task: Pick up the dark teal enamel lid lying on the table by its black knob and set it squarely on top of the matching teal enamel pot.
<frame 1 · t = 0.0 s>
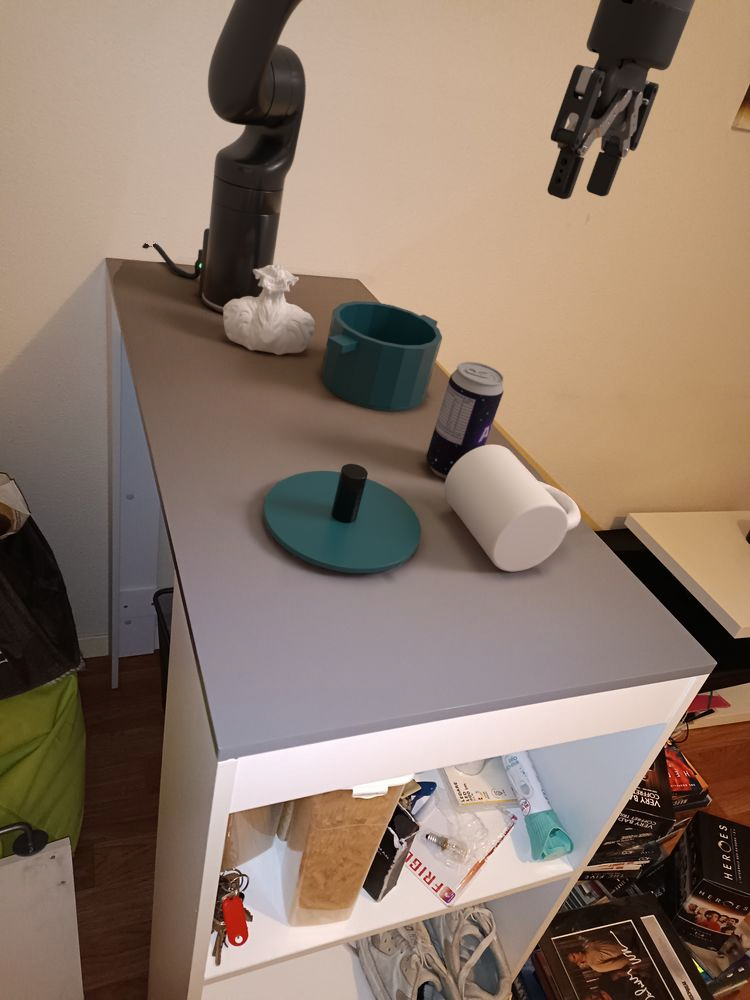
hand: (577, 195, 71), 29 cm above the table, tool pointing down, fingers open, 8 cm apart
mug: (507, 539, 73), on the table
lid: (342, 520, 69), point 1 cm above the table
white tied bag: (265, 345, 98), on the table
pot: (373, 385, 95), on the table
beverage can: (448, 471, 82), on the table
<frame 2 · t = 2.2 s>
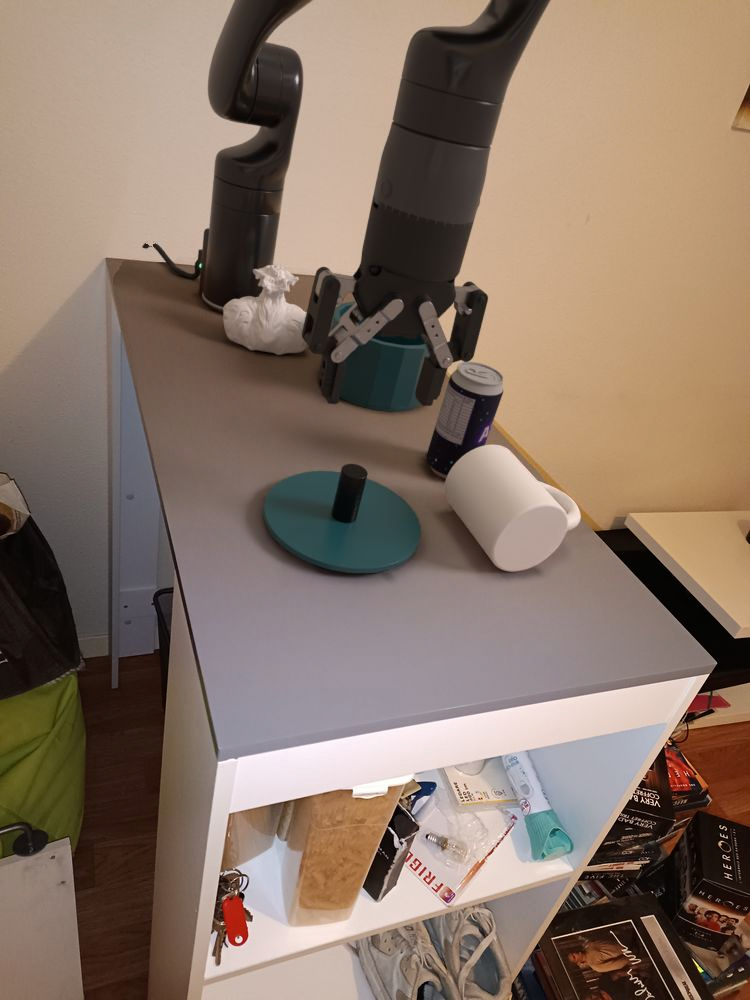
hand: (377, 400, 62), 13 cm above the table, tool pointing down, fingers open, 8 cm apart
nothing on the table moved.
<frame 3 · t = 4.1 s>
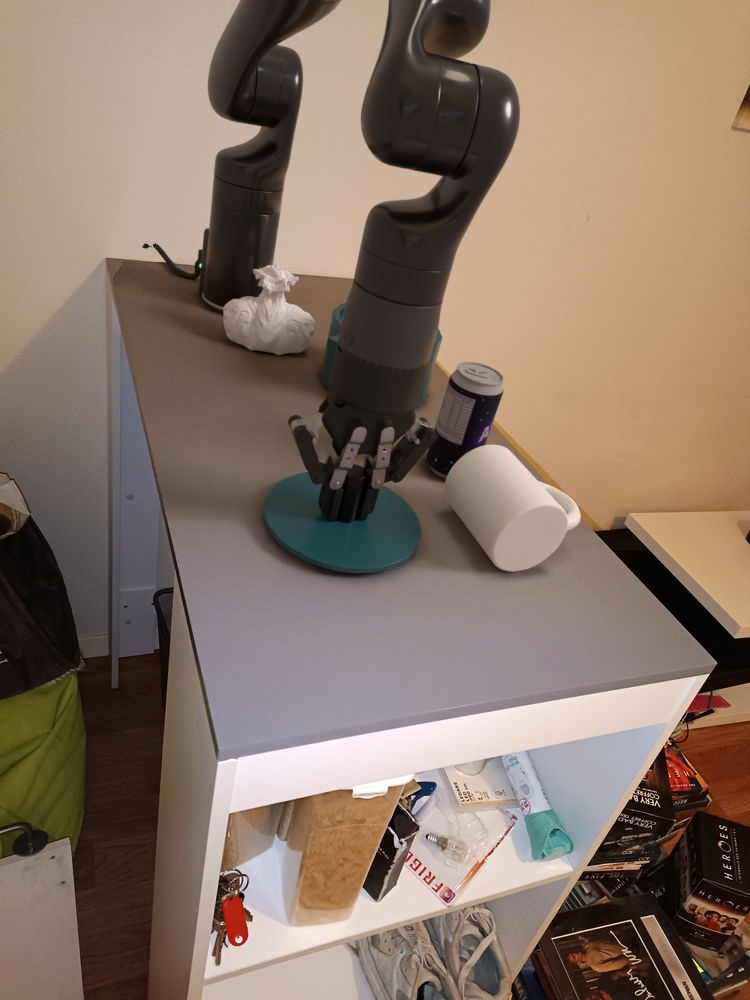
hand: (343, 514, 68), 1 cm above the table, tool pointing down, fingers closed on lid, 2 cm apart
lid: (342, 520, 69), point 1 cm above the table, touching gripper
everything else where it was.
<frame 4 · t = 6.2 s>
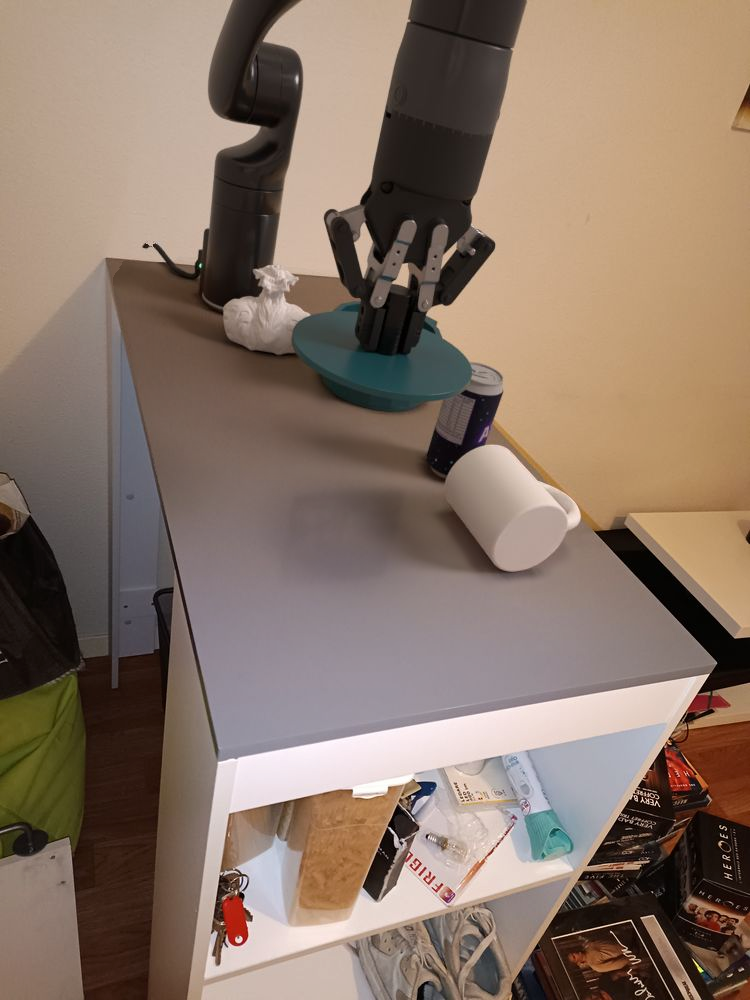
hand: (383, 347, 59), 18 cm above the table, tool pointing down, fingers closed on lid, 2 cm apart
lid: (382, 356, 60), point 17 cm above the table, touching gripper
everything else where it was.
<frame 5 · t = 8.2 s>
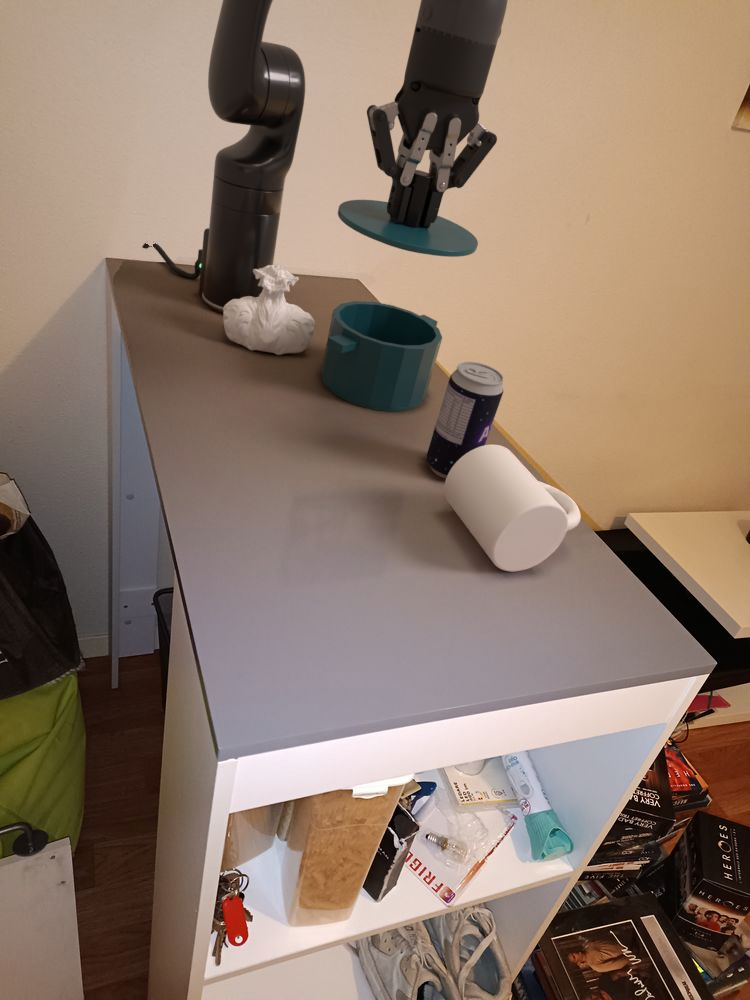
hand: (409, 222, 76), 23 cm above the table, tool pointing down, fingers closed on lid, 2 cm apart
lid: (407, 229, 76), point 22 cm above the table, touching gripper
everything else where it was.
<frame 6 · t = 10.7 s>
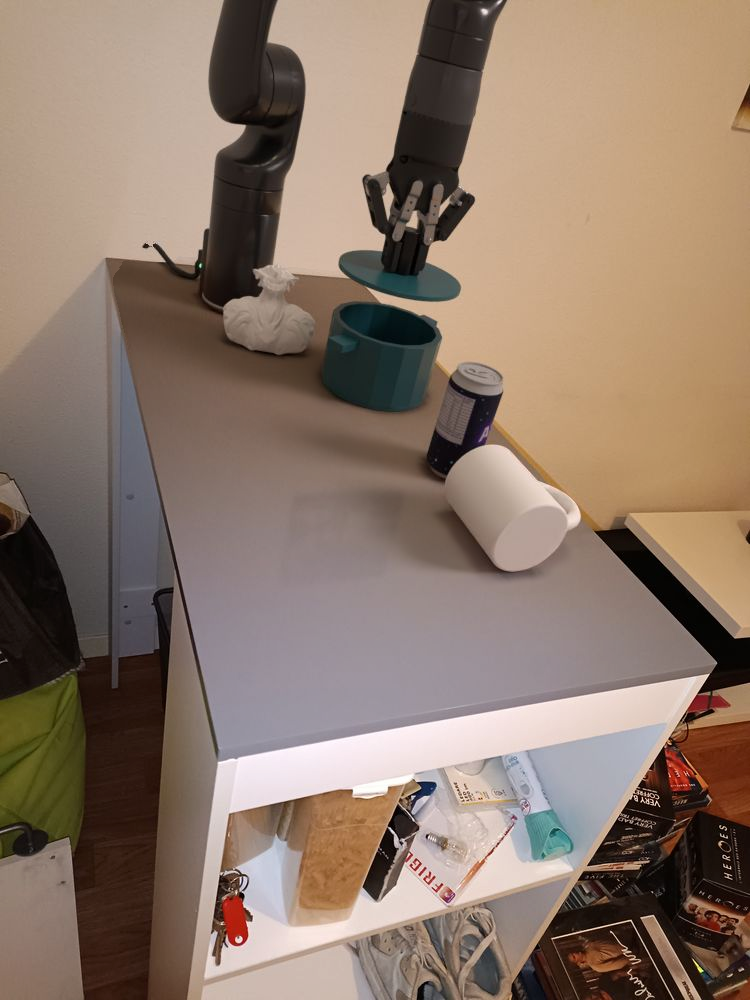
hand: (400, 271, 87), 15 cm above the table, tool pointing down, fingers closed on lid, 2 cm apart
lid: (399, 277, 87), point 14 cm above the table, touching gripper
everything else where it was.
when the fingers open (9 cm above the table, at t = 12.4 s): lid stays where it is, resting on pot.
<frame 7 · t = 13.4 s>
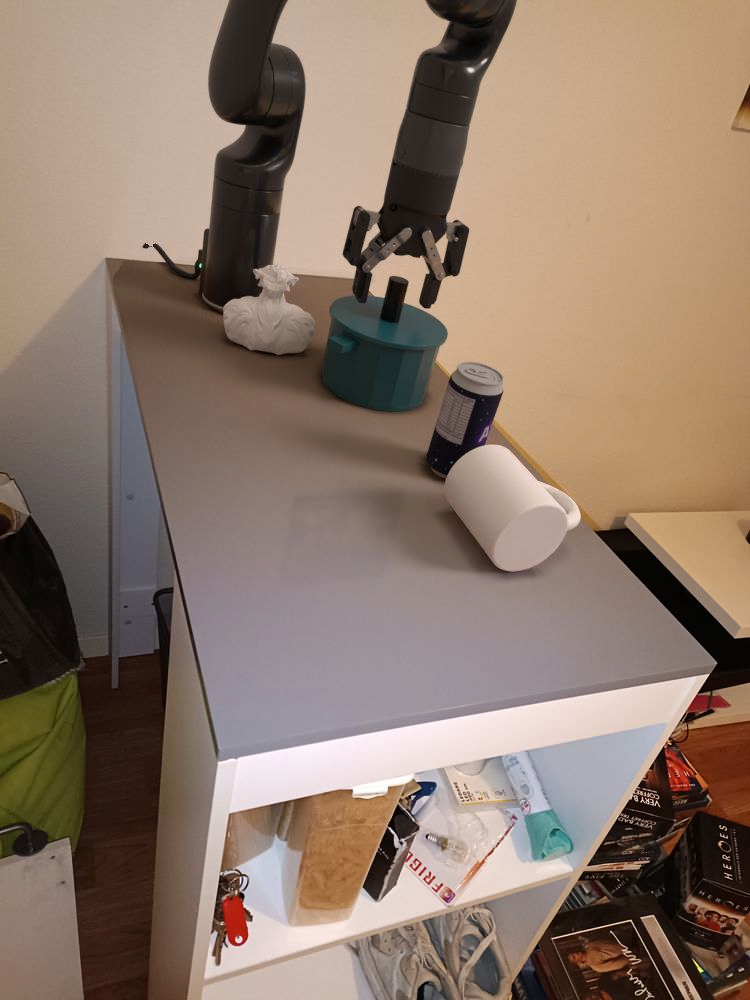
hand: (392, 303, 89), 11 cm above the table, tool pointing down, fingers open, 8 cm apart
lid: (388, 323, 91), point 8 cm above the table, touching pot
everything else where it was.
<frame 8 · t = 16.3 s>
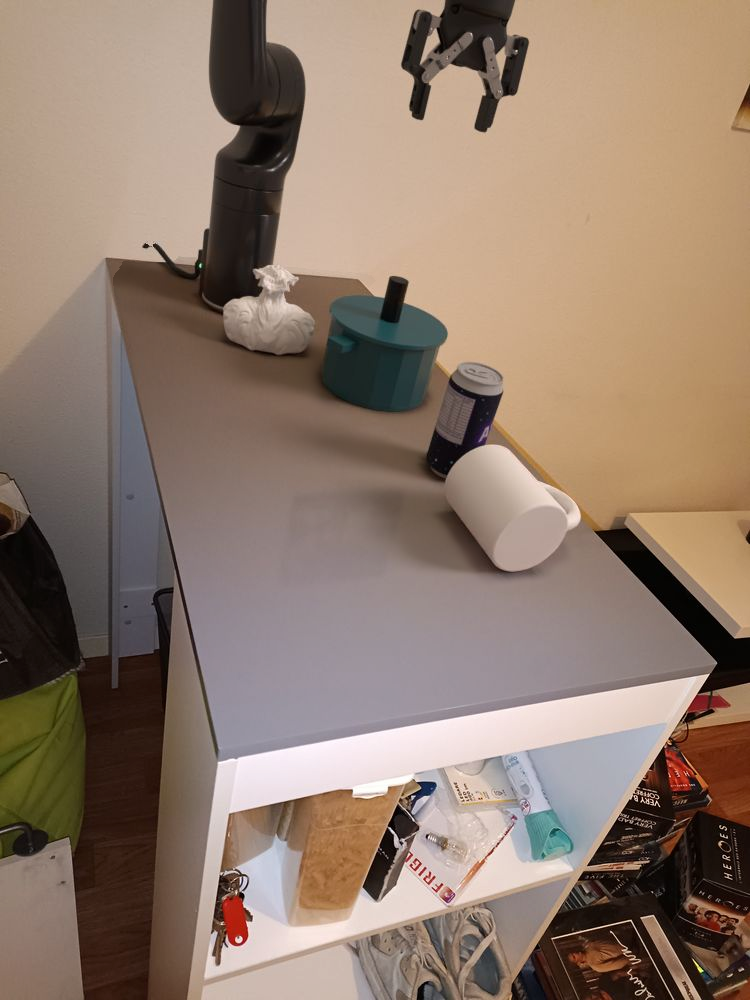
hand: (448, 124, 88), 30 cm above the table, tool pointing down, fingers open, 8 cm apart
nothing on the table moved.
at the end: lid 0.1 cm off-centre on the pot, point 8.5 cm above the pot's base; lid tilted 0°; the gripper is holding nothing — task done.
